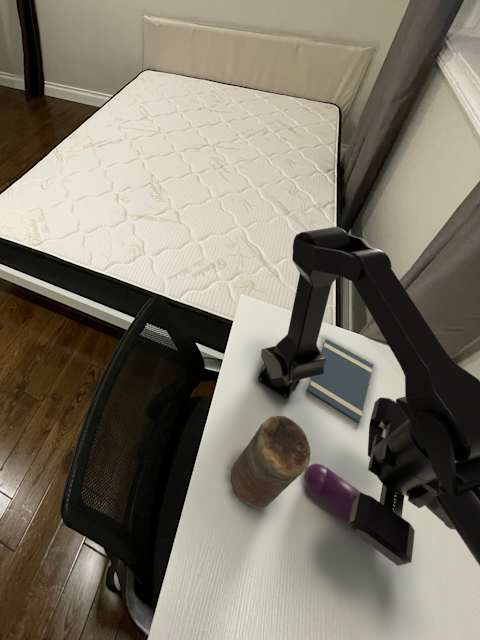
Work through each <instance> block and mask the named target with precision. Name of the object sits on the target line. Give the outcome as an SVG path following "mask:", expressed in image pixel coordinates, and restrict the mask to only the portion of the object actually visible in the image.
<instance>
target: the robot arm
mask: <svg viewBox="0 0 480 640" xmlns="http://www.w3.org/2000/svg"><path fill="white" fill-rule="evenodd" d="M292 262H293V264H294V265H295V267H296V269H297V271H298V272H299V273H298V275H299V276H298V280H297V285H296V291H295V296H294V300H293V304H292V310H291V315H290V320H289V325H288V330H287V334H286V335H285V336H284V337H283V338H281V340H279V341H278V342H277V343H276V345H274V346H270V347H265V348H262V349H261V350H260V351H261V353H260V358H261V360H262V362H263V367H262V368H261V370H260V372H259V374H258V377H257V381H258V382H259V383H260V384H262V385H264V386H265V387H267V388H268V389H270V390H271V391H273V392H274V393H276V394H278V395H279V396H280V397H282V398H284V399H285V400H287V399H289V397H290V394H291V392H295V390H296V389H297V387H298V386H299V384H300V382H301V381H302V380H304V379H309V378H312V377H313V376H317V375H320V374H324V365H325V363H326V359H325V358H324V357H323V355H322V353H321V350H320V349H319V347H318V340H319V337H320V332H321V328H322V325H323V320H324V317H325V312H326V309H327V304H328V300H329V296H330V293H331V289H332V285H333V283H334V282H335V281H336V280H337V279H338V278H340V277H342V278H344V279H346V280H347V281H350V282H352V284H353V286H354V288H355V289H356V291H357V293H358V295H359V296H360V298H361V299H362V302H363V303H364V305H365V307H366V308H367V310H368V312H369V314H370V315H371V317H372V319H373V321H374V322H375V324H376V326H377V327H378V329H379V331H380V333H381V335H382V337H383V338H384V340H385V342H386V343H387V345H388V347H389V349H390V351H391V352H392V355H394V358H395V359H396V361H397V362H398V364H399V366H400V369H401V370H402V373H403V375H404V396H402V397H397V398H396V399H395V400H393V399H392V398H390V397H379V398H377V400H376V401H374V404H373V409H372V412H371V415H370V420H369V424H368V425H369V426H368V439H367V456H368V457H369V461H368V467H367V470H368V471H369V472H370V473H372V474H373V475H374V476H376V477H377V480H378V481H380V483H381V484H382V485H381V491H380V498H379V501H378V500H377V499H375V498H374V497H373V496H372V495H368V494H365V493H363V492H362V493H359V494H357V496H355V495H354V499H353V504H352V508H351V513H350V520H349V523H348V525H349V527H350V530H351V531H352V533H353V534H355V535H356V536H357V537H359V538H360V539H362V540H363V541H364V542H365V543H366V544H368V545H369V546H370V547H372V548H373V549H375V550H376V551H377V552H378V553H380V554H381V555H383V556H384V557H385V558H387V559H388V560H390V561H391V562H392V563H393V564H394V565H396V566H397V567H399V566H403V565H408V564H410V563H412V561H413V553H414V552H413V551H414V543H415V533H416V531H415V529H414V528H413V526H412V524H411V523H410V522H409V521H407V520H406V519H404V518H403V510H404V503H405V496H406V497H408V498H407V502H409V503H410V504H412V505H414V507H416V508H418V509H421V508H423V507H426V508H427V509H428V510H429V511H430V512H432V514H434V515H435V516H436V517H437V518H438V519H439V520H440V521H441V522H442V523H443V524H444V526H446V527H447V528H448V529H449V530H455V532H457V534H458V535H459V538H461V540H462V542H463V543H464V545H465V546H466V548H467V549H468V551H469V552H470V554H471V556H472V557H473V558H474V560H475V562H476V563H477V564H478V566H479V567H480V379H479V378H477V377H476V376H475V375H473V374H472V373H471V372H469V371H468V370H466V369H465V368H463V367H461V366H460V365H459V364H457V363H456V362H455V361H454V360H453V359H452V357H451V356H450V355H449V354H448V353H447V351H446V350H445V348H444V347H443V345H442V344H441V342H440V341H439V339H438V338H437V336H436V334H435V333H434V331H433V329H432V328H431V327H430V326H429V324H428V322H427V320H426V319H425V317H424V316H423V315H422V314H421V312H420V310H419V309H418V307H417V306H416V304H415V303H414V301H413V300H412V298H411V296H410V295H409V293H408V292H407V291H406V288H405V287H404V286H403V284H402V282H401V281H400V280H399V278H398V276H397V275H396V274H395V272H394V271H393V269H392V262H391V259H390V257H389V255H388V254H387V253H386V252H385V251H383V250H381V249H379V248H376V247H373V246H371V245H370V244H369V243H368V242H367V241H366V239H364V238H362V237H358V236H356V235H353V234H350V233H348V232H346V230H344V229H343V228H341V227H338V226H332V227H326V228H320V229H313V230H307V231H301V232H299V233H297V234H296V235H295V236H294V239H293V243H292Z"/></svg>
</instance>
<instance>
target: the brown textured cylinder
mask: <svg viewBox="0 0 480 640" xmlns="http://www.w3.org/2000/svg"><path fill="white" fill-rule="evenodd" d="M310 462H311V446H310V443H309V440H308V437H307V435H306V432H305V431H304V430H303V429H302V427H301V426H300V425H299V424H298V423H296V422H295V421H294V420H293V419H291V418H289V417H288V416H287V417H286V416H285V415H273V416H269V417H268V418H266V420H264V421H263V422H262V423H261V425H260V426H259V427H258V429H257V431H256V432H255V434H254V435H253V436H252V437H251V438H250V441H249V442H248V443H247V445H246V446H245V448H244V449H243V450H242V452H241V454H240V455H239V456H238V458H237V459H236V461H235V462H234V463H233V465H232V468H231V473H230V475H231V482H232V486H233V489H234V492H235V493H236V495H237V496H238V498H239V499H240V500H241V501H242V502H243V503H245V504H247V505H248V506H251V507H253V508H260V509H263V508H266V507H268V505H270V504H271V503H273V501H275V500H276V499H277V497H279V496H280V495H281V494H282V493H283V492H284V491H285V490H286V489H287V488H288V487H289V486H290V485H291V484H293V482H295V481H296V480H297V478H299V477H300V476H301V475H302V474H303V473H305V471H306V469H307V468H308V466H310Z"/></svg>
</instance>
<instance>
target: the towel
mask: <svg viewBox="0 0 480 640" xmlns="http://www.w3.org/2000/svg"><path fill="white" fill-rule="evenodd" d="M320 352H321V353H322V355H323V357H324V358H325V359H326V363H325V365H324V374H320V375H317V376H313V377H311V379H310V382H309V384H308V387H307V389H306V390H307V392H308V393H309V394H311V395H312V396H314V397H316V398H318V399H319V400H321V401H322V402H324V403H326V404H327V405H329V406H330V407H332V408H334V409H335V410H337V411H338V412H339V413H342V414H343V415H345V416H347V418H350V419H351V420H353V421H354V422H356V423H358V424H359V423H360V422H361V420H362V416H363V410H364V406H365V402H366V398H367V393H368V390H369V385H370V381H371V377H372V373H373V368H374V363H372V362H370V361H368V360H366V359H364V358H363V357H360V356H359V355H357V354H355V353H353V352H352V351H350V350H348V349H346V348H344V347H343V346H341V345H339V344H337V343H335V342H334V341H332V340H330V339H328V338H325V340H324V342H323V346H322V348H321V350H320Z"/></svg>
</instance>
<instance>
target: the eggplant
mask: <svg viewBox="0 0 480 640" xmlns="http://www.w3.org/2000/svg"><path fill="white" fill-rule="evenodd" d="M303 480H304V485H305V488H306V489H307V491H308V493H309V494H310V495H311V496H312V497H313V498H314V499H315V500H317V501H318V502H320V503H321V504H322V505H323V506H325V507H326V508H328V509H329V510H330V511H332V512H333V513H334V514H336V515H337V516H338V517H339V518H341V519H342V520H344V521H345V522H346V523H347V524H349V520H350V513H351V508H352V504H353V499H354V495H355V496H357V494H359V493H363V492H362V491H361V490H359V489H358V488H357V487H355V486H354V485H352V484H350V483H349V482H348V481H347V480H345V479H344V478H342V477H341V476H339V475H338V474H337V473H336V472H334V471H332V470H331V469H329V467H327V466H325V465H323V464H320V463H312V464H309V465H308V467H307V469H306V470H305V471H304V475H303Z"/></svg>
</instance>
